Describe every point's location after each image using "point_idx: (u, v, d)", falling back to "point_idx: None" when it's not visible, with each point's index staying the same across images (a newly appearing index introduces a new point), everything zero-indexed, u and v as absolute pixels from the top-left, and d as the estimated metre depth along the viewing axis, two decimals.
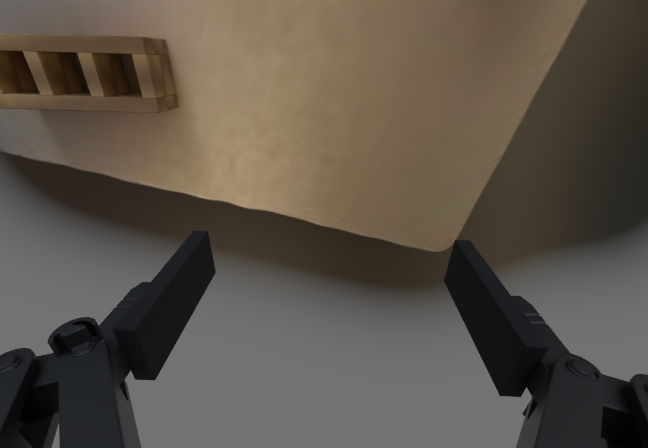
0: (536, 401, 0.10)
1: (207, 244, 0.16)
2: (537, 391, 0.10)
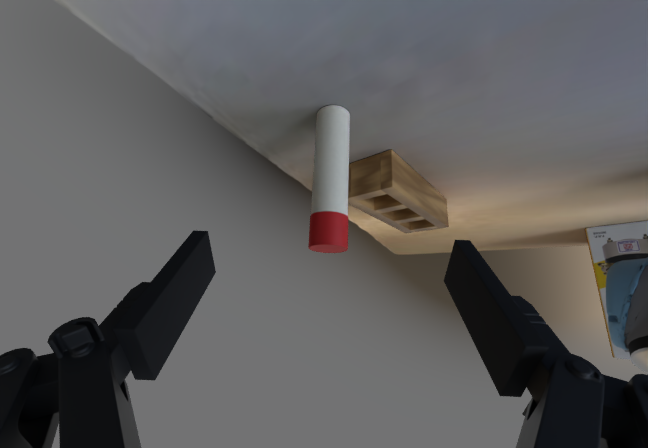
0: (536, 401, 0.10)
1: (207, 244, 0.16)
2: (537, 391, 0.10)
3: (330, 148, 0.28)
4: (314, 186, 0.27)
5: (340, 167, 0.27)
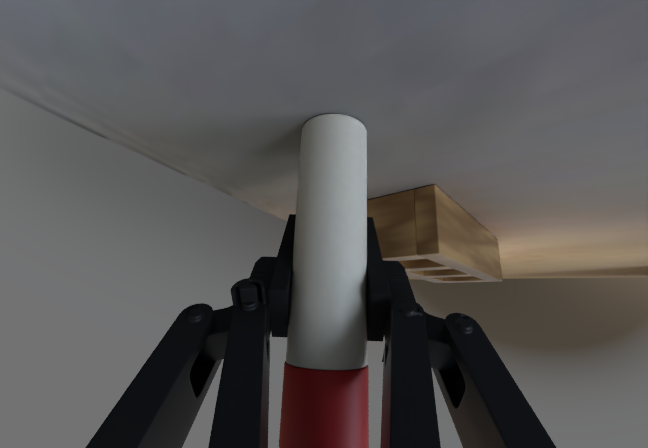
0: (388, 347, 0.12)
1: None
2: (386, 339, 0.12)
3: (327, 210, 0.13)
4: (293, 296, 0.12)
5: (349, 254, 0.12)
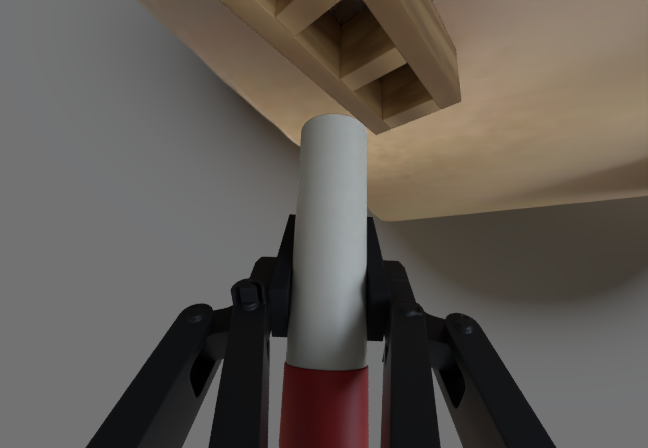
0: (388, 347, 0.12)
1: None
2: (386, 339, 0.12)
3: (326, 211, 0.13)
4: (293, 296, 0.12)
5: (349, 254, 0.12)
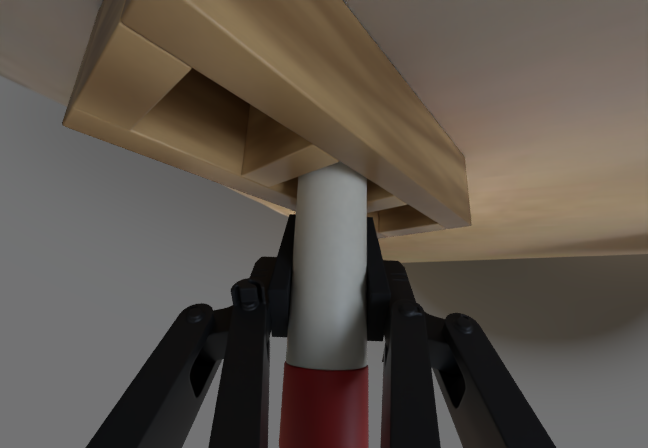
0: (388, 347, 0.12)
1: None
2: (386, 339, 0.12)
3: (326, 210, 0.13)
4: (293, 296, 0.12)
5: (349, 254, 0.12)
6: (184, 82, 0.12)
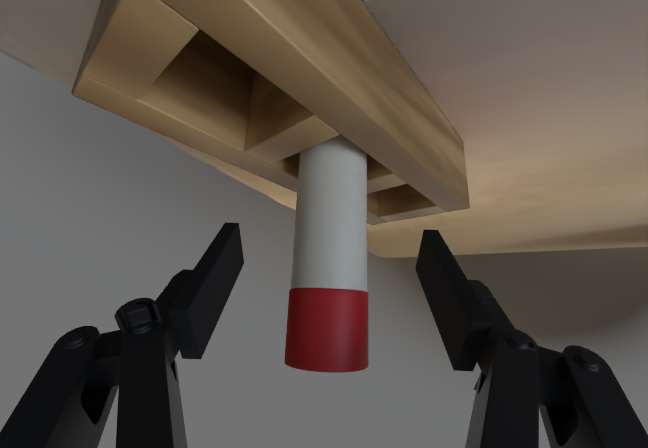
0: (484, 375, 0.11)
1: (238, 236, 0.16)
2: (484, 366, 0.11)
3: (329, 148, 0.13)
4: (298, 228, 0.13)
5: (350, 188, 0.13)
6: (189, 57, 0.12)
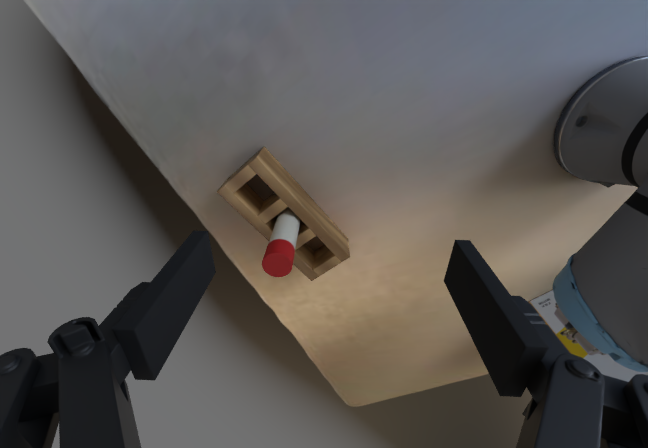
0: (536, 401, 0.10)
1: (207, 244, 0.16)
2: (537, 391, 0.10)
3: (285, 215, 0.41)
4: (272, 233, 0.39)
5: (291, 222, 0.40)
6: (246, 192, 0.43)
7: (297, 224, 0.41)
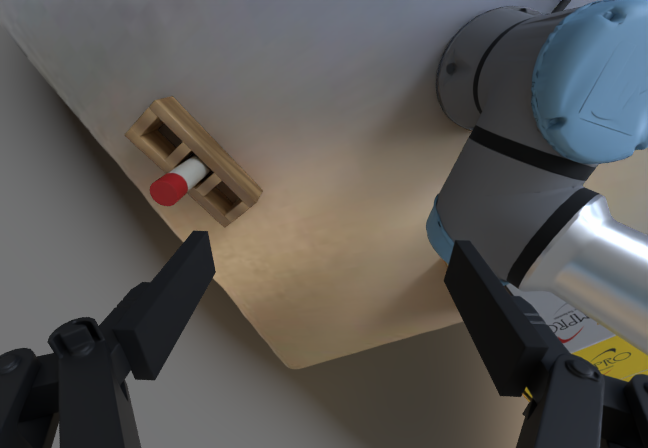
0: (536, 401, 0.10)
1: (207, 244, 0.16)
2: (537, 391, 0.10)
3: (190, 159, 0.45)
4: None
5: (192, 164, 0.43)
6: (157, 139, 0.46)
7: (201, 167, 0.45)
